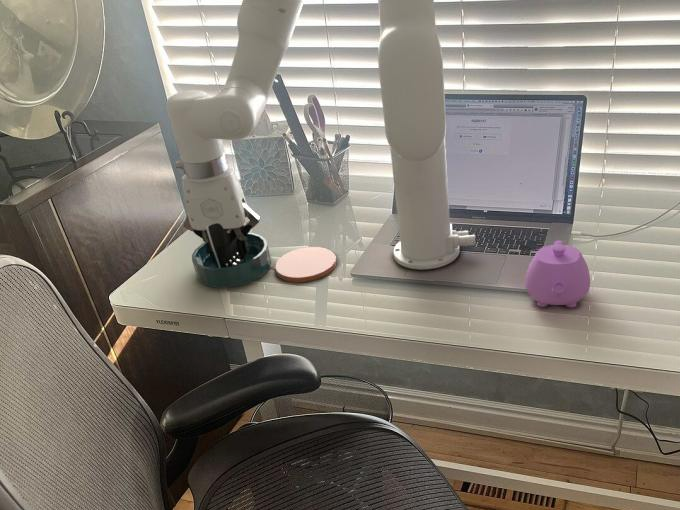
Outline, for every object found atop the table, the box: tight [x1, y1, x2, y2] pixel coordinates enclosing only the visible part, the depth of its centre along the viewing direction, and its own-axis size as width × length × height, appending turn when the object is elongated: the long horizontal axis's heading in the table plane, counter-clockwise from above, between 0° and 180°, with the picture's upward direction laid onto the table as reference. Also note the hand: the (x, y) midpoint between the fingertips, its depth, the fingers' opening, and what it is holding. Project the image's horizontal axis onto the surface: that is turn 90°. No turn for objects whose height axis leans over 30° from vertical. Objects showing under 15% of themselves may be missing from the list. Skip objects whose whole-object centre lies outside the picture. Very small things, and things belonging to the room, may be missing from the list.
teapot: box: [524, 240, 591, 308], centre depth 111 cm, size 10×15×9 cm
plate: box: [274, 246, 337, 283], centre depth 131 cm, size 12×12×1 cm
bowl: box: [191, 232, 273, 288], centre depth 131 cm, size 14×14×4 cm
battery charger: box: [205, 223, 246, 268], centre depth 129 cm, size 7×4×11 cm, turn 163°
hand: (230, 255), depth 131 cm, fingers closed on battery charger, 4 cm apart
